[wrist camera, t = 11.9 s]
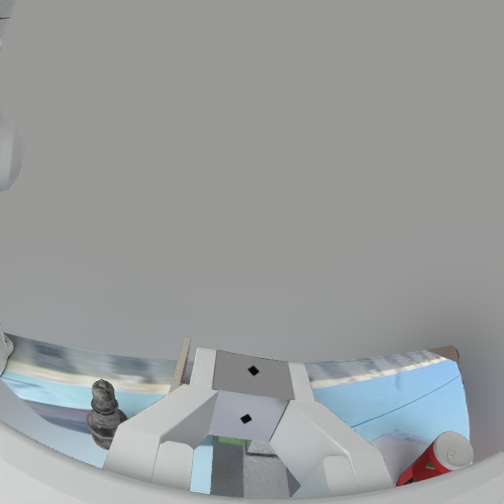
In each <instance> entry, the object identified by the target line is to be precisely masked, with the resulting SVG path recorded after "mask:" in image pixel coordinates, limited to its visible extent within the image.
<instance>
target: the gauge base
mask: <svg viewBox="0 0 504 504" xmlns="http://www.w3.org/2000/svg"><path fill="white" fill-rule="evenodd" d="M190 341H191V337H187V336H185V337H184V341H183V344H182V348H181V351H180V355H179V359H178V362H177V365H176V369H175V373H174V376H173V380H172V384H171V388H170V391H169V393H171V392H172V391H174V390H175V389H177V388H178V387H180V386H181V385H183V384H184V380H185V374H186V367H187V360H188V354H189V347H190ZM256 358H257V357H256ZM262 359H264V358H262ZM269 360H270V359H269ZM276 361H278V360H276ZM283 362H285V361H283ZM300 487H301V485H300V483H299V482H298V481H297V480H296V478H295V477H294V476H293V475H292V473H291V472H290V471H289V469H288V468H287V467H286V466H285V464H284V463H283V462H282V460H281V459H280V458H279V456H278V455H277V454H263V453H251V452H247V440H246V439H239V438H230V437H222V436H214V446H213V460H212V475H211V492H210V495H218V496H228V497H239V498H254V499H290V498H291V497H292V496H293V495H294V494H295V492H296V491H297V490H298V489H299V488H300Z"/></svg>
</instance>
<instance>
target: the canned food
mask: <svg viewBox="0 0 504 504" xmlns="http://www.w3.org/2000/svg"><path fill="white" fill-rule="evenodd" d="M472 460H473V449H472V446H471V445H470V443H469V442H468V440H467V439H466V438H465V437H463V436H462V435H460V434H458V433H456V432H449V431H448V432H444V433H442V434H440V435H439V436H438V437H437V438H436V439H435V440H434V441H433V442H432V444H431V445H430V446H429V447H428V448H427V449H426V450H425V451H424V452H423V454H422V455H421V456H420V457H419V458H418V459H417V460H416V461H415V462H414V463H413V464H412V465H411V466H410V467H409V468H408V469H407V470H406V471H405V472H404V473H403V474H402V475H401V477H400V479H399V480H398V483H397V487H399V486H403V485H407V484H411V483H415V482H419V481H423V480H426V479H430V478H433V477H436V476H439V475H443V474H446V473H449V472H452V471H454V470H457V469H460V468H463V467H465V466H468V465H469V464H470V463H471V462H472Z"/></svg>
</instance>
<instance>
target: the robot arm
mask: <svg viewBox="0 0 504 504" xmlns="http://www.w3.org/2000/svg"><path fill="white" fill-rule="evenodd" d="M17 1H18V0H0V49H1V45H2V42H3V38H4V36H5V33H6V29H7V27H8V24H9V22H10V19H11V16H12V14H13V12H14V9H15V7H16V4H17ZM23 158H24V143H23V139H22V135H21V133H20V131H19V129H18V127H17V126H16V124H14V123H13V122H12V121H11V120H10V119H9V118H8V116H7V115H6V114H5V112H4V111H3V109H2V107H1V105H0V192H2V191H6V190H8V189H9V188H10V187H11V186H12V184H13V183H14V182H15V180H16V178H17V177H18V175H19V172H20V170H21V167H22V163H23ZM13 350H14V345H13V343H12V341H11V340H10V339H9V338H8V337H7V336H6V335H5V334H4V333H3V332H2V329H1V326H0V375H1V374H2V372H3V371H4V369H5V366H6V363H7V358H8V356H9V355H10V354H11V353H12V351H13ZM208 435H214V436H222V437H230V438H239V439H246V440H254V441H263V442H269V444H270V446H271V447H272V448H273V450H274V451H275V452H276V454H277V455H278V456H279V458H280V459H281V460H282V462H283V463H284V464H285V466H286V467H287V468H288V469H289V471H290V472H291V473H292V475H293V476H294V477H295V478H296V480H297V481H298V482H299V483H300V485H301V487H300V488H299V489H298V490H297V491H296V492H295V494H294V495H293V496H292V497H291V498H290V499H254V498H239V497H228V496H218V495H210V494H202V493H196V492H190V483H191V473H192V464H193V455H194V449H195V448H196V447H197V446H198V445H199V444H200V443H201V442H202V441H203V440H204V439H205V438H206V437H207V436H208ZM0 504H504V450H503V451H501V452H499V453H496V454H494V455H492V456H490V457H487V458H485V459H483V460H480V461H478V462H476V463H473V464H471V465H468V466H465V467H463V468H460V469H457V470H454V471H452V472H449V473H446V474H443V475H439V476H436V477H433V478H430V479H426V480H423V481H419V482H415V483H411V484H407V485H403V486H399V487H394V484H393V482H392V479H391V476H390V474H389V471H388V469H387V466H386V464H385V461H384V459H383V456H382V454H381V451H379V450H378V449H377V448H376V447H374V446H373V445H372V444H370V443H369V442H368V441H367V440H365V439H364V438H363V437H362V436H360V435H359V434H358V433H357V432H355V431H354V430H353V429H352V428H351V427H349V426H348V425H347V424H346V423H345V422H343V421H342V420H341V419H340V418H339V417H337V416H336V415H335V414H334V413H333V412H331V411H330V410H329V409H328V408H327V407H326V406H324V405H323V404H322V403H321V402H316V401H315V398H314V394H313V391H312V387H311V384H310V381H309V377H308V374H307V370H306V367H305V365H304V364H303V363H299V362H289V361H286V362H283V361H276V360H269V359H262V358H256V357H251V356H246V355H241V354H235V353H230V352H226V351H221V350H216V349H211V348H206V347H201V346H198V348H197V351H196V356H195V361H194V365H193V370H192V375H191V380H190V385H188V384H183V385H181V386H180V387H178V388H177V389H175V390H174V391H172V392H171V393H169V394H168V395H166V396H165V397H163V398H162V399H160V400H158V401H157V402H155V403H154V404H152V405H151V406H149V407H147V408H146V409H144V410H143V411H141V412H139V413H138V414H136V415H135V416H133V417H131V418H130V419H128V420H126V421H125V422H123V423H121V424H120V425H118V428H117V430H116V433H115V436H114V438H113V441H112V443H111V446H110V449H109V452H108V454H107V457H106V460H105V462H104V466H103V468H102V469H101V468H99V467H96V466H93V465H90V464H88V463H85V462H83V461H80V460H78V459H75V458H73V457H70V456H68V455H66V454H64V453H61V452H59V451H57V450H55V449H53V448H50V447H49V446H46V445H44V444H42V443H40V442H38V441H36V440H35V439H33V438H31V437H29V436H27V435H25V434H23V433H22V432H20V431H18V430H16V429H15V428H13V427H11V426H10V425H8V424H6V423H5V422H3V421H1V420H0Z"/></svg>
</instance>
